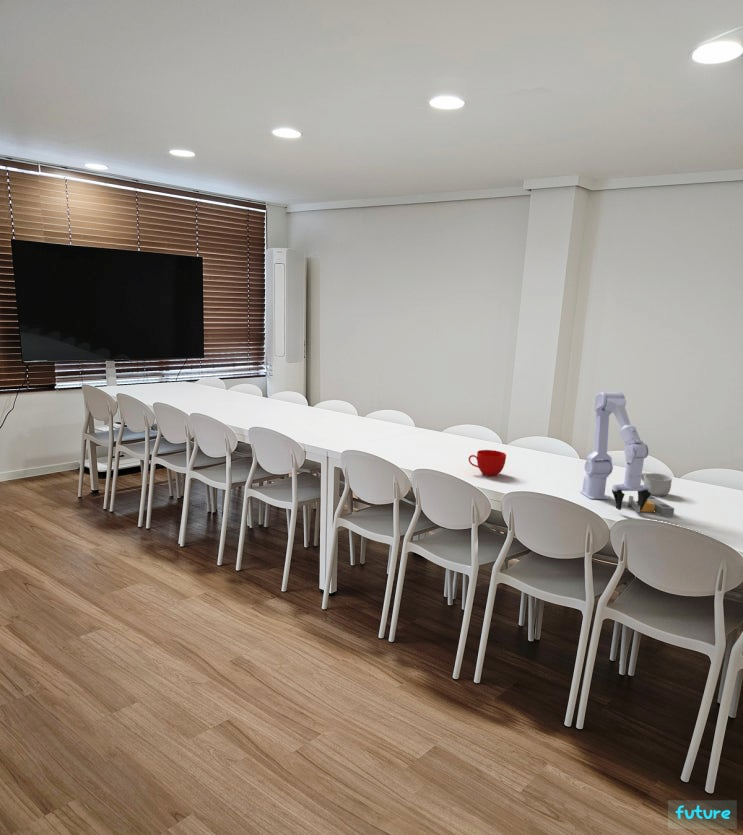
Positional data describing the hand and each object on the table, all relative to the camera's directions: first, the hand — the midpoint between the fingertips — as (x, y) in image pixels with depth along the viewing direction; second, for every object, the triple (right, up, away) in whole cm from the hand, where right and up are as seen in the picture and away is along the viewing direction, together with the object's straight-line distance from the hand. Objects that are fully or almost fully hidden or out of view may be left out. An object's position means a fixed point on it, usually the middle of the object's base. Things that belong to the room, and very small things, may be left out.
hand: (628, 509), depth 234 cm
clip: (+4, -1, +5) cm, 7 cm away
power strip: (+14, -1, +9) cm, 17 cm away
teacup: (+24, +2, +31) cm, 39 cm away
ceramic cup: (-46, +9, +46) cm, 66 cm away
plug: (+9, -1, +6) cm, 11 cm away
